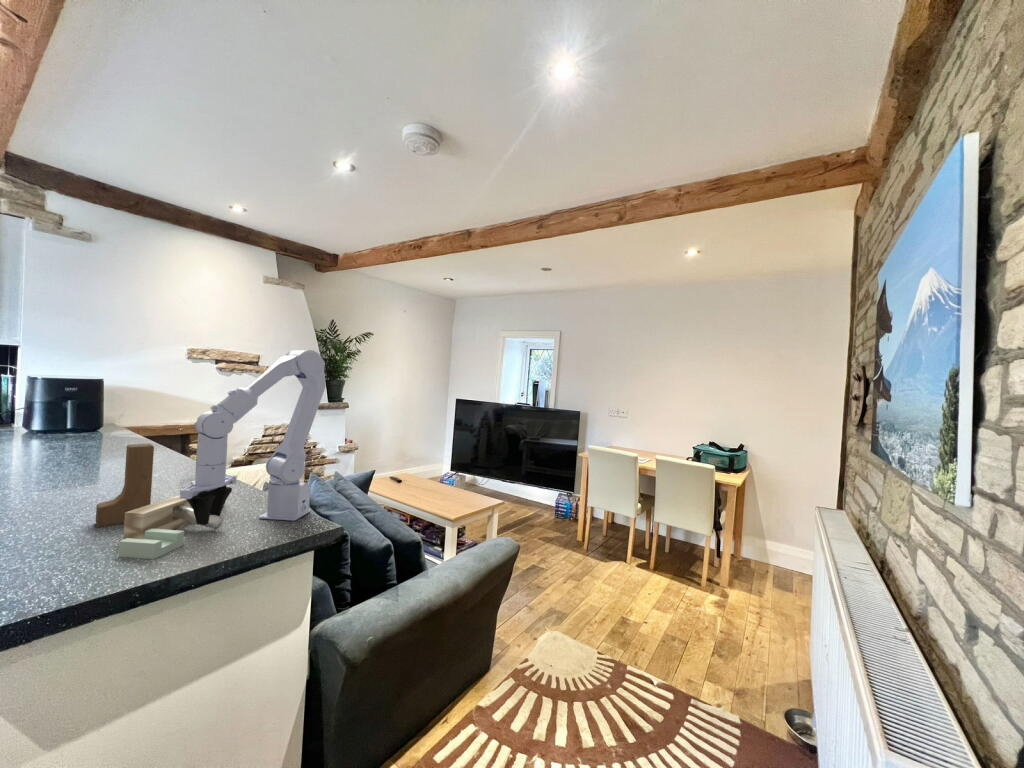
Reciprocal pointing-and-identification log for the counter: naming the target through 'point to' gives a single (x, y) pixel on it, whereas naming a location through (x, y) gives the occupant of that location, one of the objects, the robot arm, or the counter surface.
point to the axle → (188, 515)
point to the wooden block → (130, 486)
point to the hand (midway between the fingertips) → (208, 521)
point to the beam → (153, 518)
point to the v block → (151, 544)
